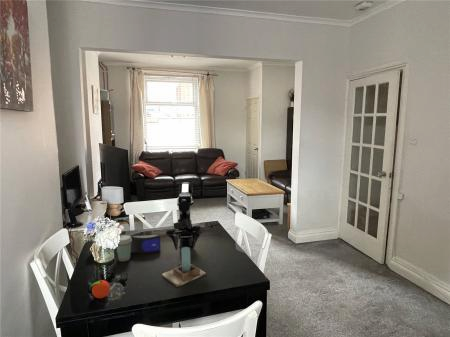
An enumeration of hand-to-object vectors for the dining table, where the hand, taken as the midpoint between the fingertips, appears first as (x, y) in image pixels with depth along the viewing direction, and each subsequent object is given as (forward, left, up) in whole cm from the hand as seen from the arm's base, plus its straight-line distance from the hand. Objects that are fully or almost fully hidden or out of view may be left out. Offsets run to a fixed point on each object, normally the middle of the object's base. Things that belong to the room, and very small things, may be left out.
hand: (184, 248), depth 146 cm
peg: (+5, +8, -9) cm, 13 cm away
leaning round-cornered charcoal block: (+6, -30, -10) cm, 33 cm away
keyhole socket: (+5, +6, -10) cm, 13 cm away
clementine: (+41, -2, -10) cm, 42 cm away
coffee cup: (+19, -29, -10) cm, 36 cm away
